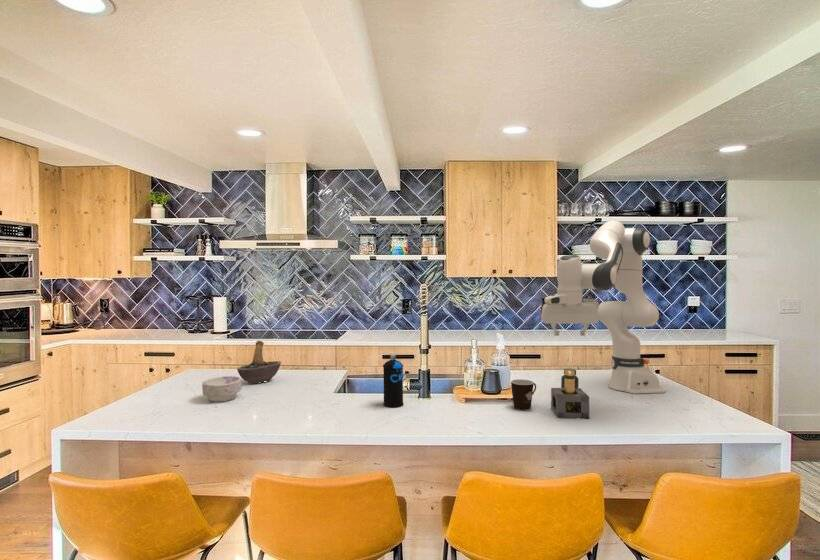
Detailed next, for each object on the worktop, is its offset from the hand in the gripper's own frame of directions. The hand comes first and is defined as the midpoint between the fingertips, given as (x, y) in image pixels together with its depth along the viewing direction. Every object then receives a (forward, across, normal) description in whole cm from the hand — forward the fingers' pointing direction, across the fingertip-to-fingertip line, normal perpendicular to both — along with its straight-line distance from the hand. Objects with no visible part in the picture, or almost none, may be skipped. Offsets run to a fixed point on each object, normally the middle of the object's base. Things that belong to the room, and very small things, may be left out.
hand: (569, 335), depth 166 cm
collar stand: (+29, 0, +1) cm, 29 cm away
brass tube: (+29, 0, +1) cm, 29 cm away
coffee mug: (+29, +15, -5) cm, 33 cm away
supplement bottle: (+29, -5, -19) cm, 35 cm away
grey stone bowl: (+28, +140, -6) cm, 143 cm away
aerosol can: (+29, +67, -4) cm, 73 cm away
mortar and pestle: (+29, +136, -33) cm, 143 cm away
